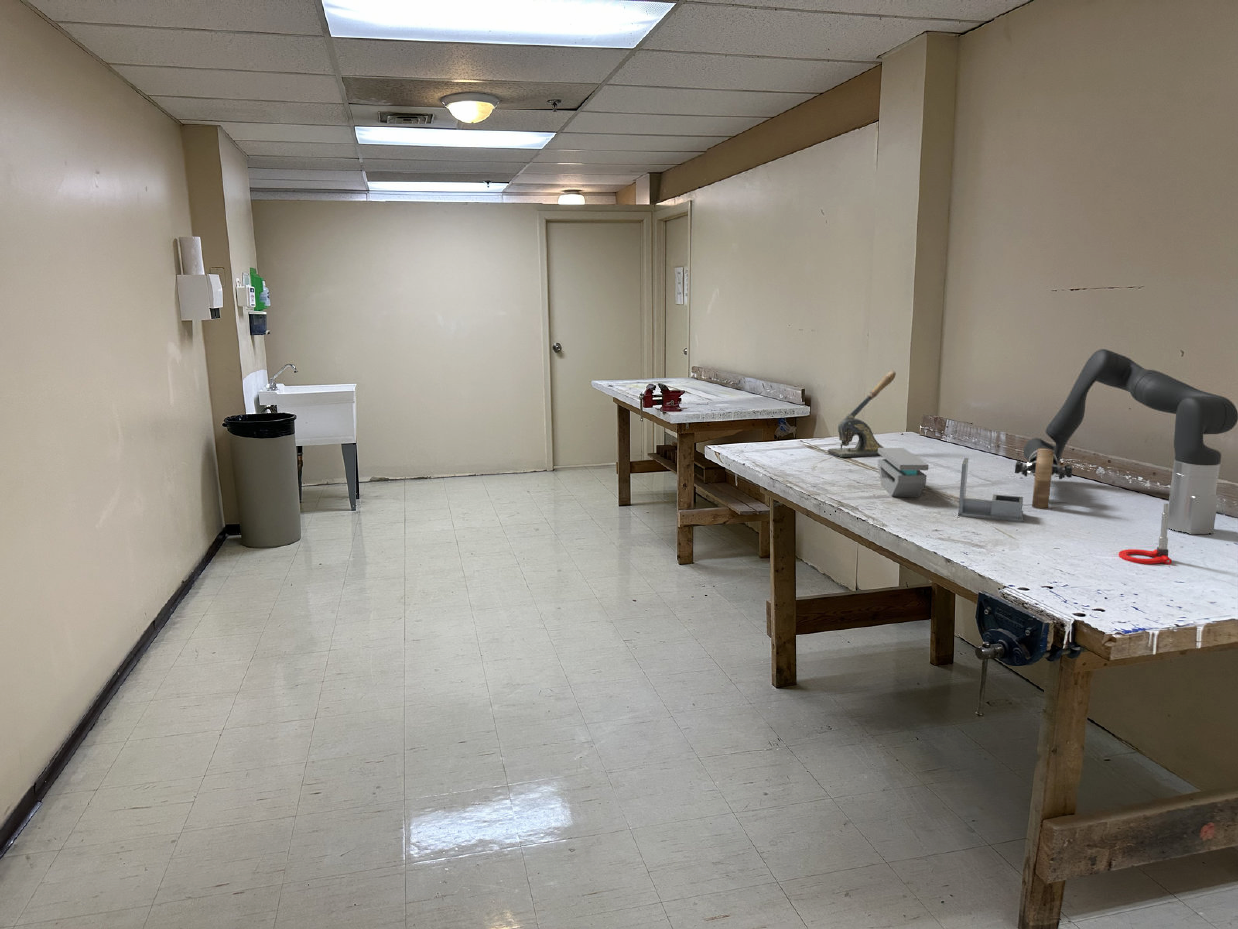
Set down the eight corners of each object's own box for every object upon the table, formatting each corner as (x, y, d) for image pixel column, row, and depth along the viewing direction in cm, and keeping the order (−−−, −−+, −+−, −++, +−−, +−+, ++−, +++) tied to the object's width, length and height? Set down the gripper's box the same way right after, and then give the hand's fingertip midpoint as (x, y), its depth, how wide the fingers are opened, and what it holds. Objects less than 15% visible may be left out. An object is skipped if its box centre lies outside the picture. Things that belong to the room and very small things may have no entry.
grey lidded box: (925, 502, 233) (928, 464, 231) (897, 502, 234) (900, 464, 231) (901, 482, 258) (903, 447, 255) (876, 482, 258) (878, 447, 256)
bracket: (960, 507, 227) (964, 457, 224) (1023, 513, 221) (1027, 462, 218) (958, 515, 219) (962, 464, 216) (1022, 522, 213) (1027, 469, 210)
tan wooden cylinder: (1051, 508, 225) (1057, 451, 222) (1037, 509, 225) (1042, 451, 222) (1042, 505, 229) (1048, 448, 226) (1029, 505, 229) (1034, 448, 225)
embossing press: (825, 453, 304) (829, 371, 297) (884, 449, 309) (888, 369, 302) (839, 459, 293) (843, 374, 287) (900, 455, 298) (905, 372, 292)
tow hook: (1126, 565, 181) (1173, 566, 179) (1130, 508, 179) (1178, 508, 176) (1113, 553, 189) (1158, 554, 187) (1116, 499, 187) (1162, 499, 184)
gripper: (1017, 448, 243) (1015, 458, 229) (1071, 452, 237) (1074, 463, 222) (1014, 473, 244) (1013, 485, 230) (1069, 477, 238) (1071, 490, 224)
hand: (1043, 474), depth 226 cm, fingers open, 8 cm apart
